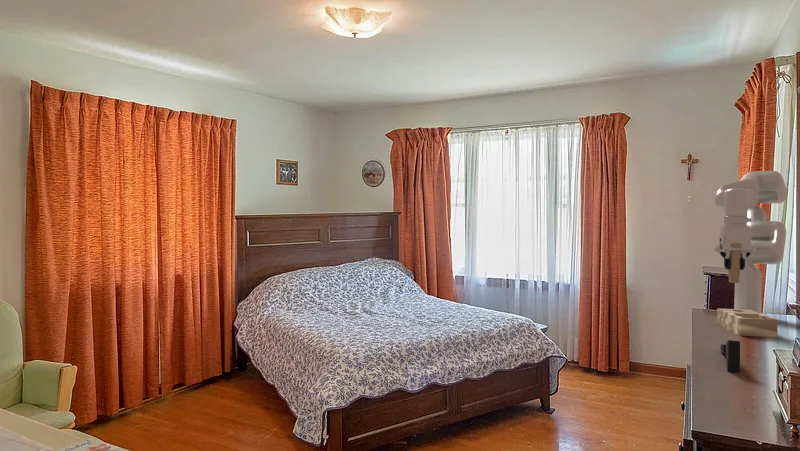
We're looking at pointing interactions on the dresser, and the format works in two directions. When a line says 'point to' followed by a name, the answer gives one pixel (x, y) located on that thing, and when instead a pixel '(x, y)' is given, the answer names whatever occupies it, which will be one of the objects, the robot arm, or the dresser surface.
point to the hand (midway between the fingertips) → (734, 268)
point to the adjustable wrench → (732, 355)
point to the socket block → (747, 322)
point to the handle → (734, 264)
